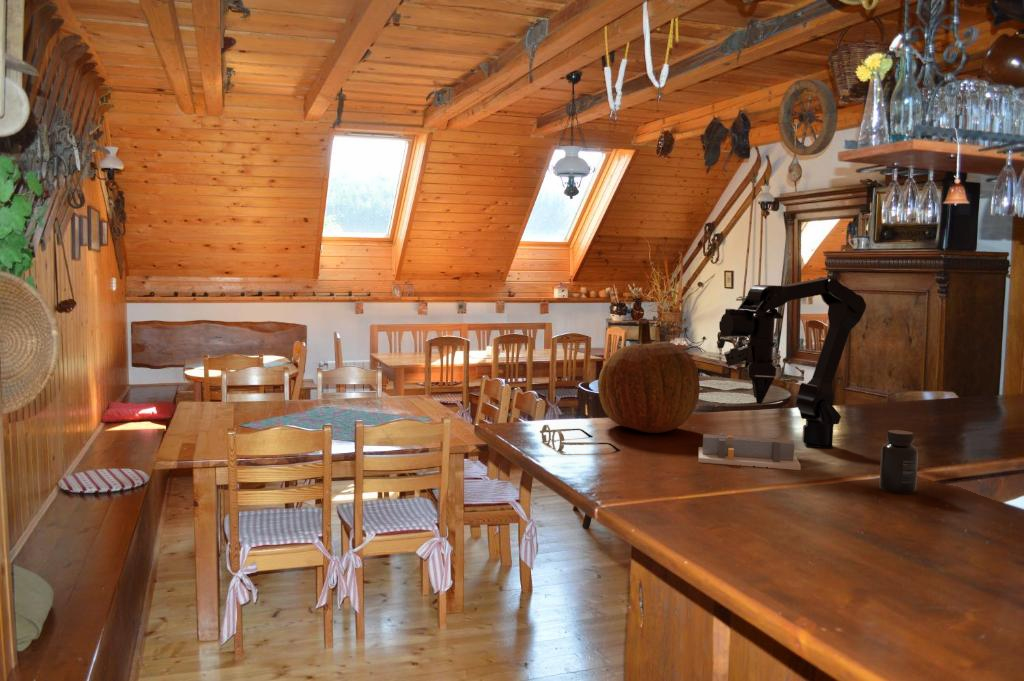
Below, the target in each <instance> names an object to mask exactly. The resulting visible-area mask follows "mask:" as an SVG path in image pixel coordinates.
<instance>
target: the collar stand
mask: <svg viewBox="0 0 1024 681" xmlns="http://www.w3.org/2000/svg"><path fill="white" fill-rule="evenodd" d="M717 435H725V433H721V432H720V433H719V432H718V433H717ZM770 439H779V437H777V436H771V437H770ZM780 449H781V444H780V443H774V444H773V460H771V459H757V458H744V457H734V448H728V456H725V439H719V447H718V455H705V454H703V446H698V463H702V464H703V463H704V464H714V465H715V464H716V465H729V466H732V465H733V466H740V465H741V466H742V467H753V466H755V468H756V467H757V468H766V467H768V468H770V469H780V470H794V471H801V468H802V466H801V463H800V462H799V459H798V458H797V456H796V453H794V457H793V461H784V460H780Z"/></svg>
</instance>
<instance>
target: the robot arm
mask: <svg viewBox="0 0 1024 681" xmlns="http://www.w3.org/2000/svg"><path fill="white" fill-rule="evenodd" d="M815 296H821V300H822V301H823V303H825V305H827V306H828V309H827V310H828V311H827V318H828V322H829V327H828V330H827V333H826V337H825V339H824V342H823V345H822V348H821V351H820V354H819V357H818V359H817V363H816V366H815V368H814V371H813V375H812V377H811V379H810V380H809V381H808V382H807V383H805V382H801V383H800V384H799V390H798V392H797V395H796V396H795V398H796V406H797V410H798V411H799V414H800V418H801V419H803V420H805V424H803V426H802V442H803V443H804V446H805V447H809V448H823V449H824V448H825V449H834V445H833V438H834V425H838V424H839V423H840V421H841V418H842V416H841V414H840V413H839V412H838V411H837V409H836V408H835V407H834V401H835V394H834V393H835V392H834V388H833V382H834V380H835V377H836V374H837V370H838V368H839V365H840V361H841V359H842V356H843V353H844V350H845V347H846V344H847V341H848V337H849V335H850V332H851V331H852V330H853V328H854V327H856V326H857V324H859V322H860V321H861V320H862V317H863V315H864V314H865V311H866V308H867V303H866V302H865V299H864V297H863V296H862V295H860V294H857V293H856V292H855V291H853V290H852V289H850V288H848V287H847V286H845V285H844V284H842V283H841V282H839V281H838V279H836V278H835V277H825V276H824V277H823V276H820V277H818V278H814V279H809V280H808V279H807V280H804V281H798V282H793V283H787V284H783V285H776V284H775V285H772V284H771V285H770V284H769V285H768V284H755V285H752V286H751V287H749V290H748V292H747V295H746V297H744V299H743V300H742V302H741V304H740V305H739V306H738V308H737V309H736V308H725V312H724V314H722V316H721V318H720V321H719V324H718V326H719V327H718V328H719V332H720V334H721V335H722V337H724V338H747V337H748V340H747V341H746V345H745V346H742V347H738V348H737V346H735V347H734V348H730V349H729V350H728V351H724V354H723V355H724V357H725V361H726V364H727V366H728V367H731V366H734V365H735V364H738V363H742V362H744V369H745V371H746V372H747V376H748V378H749V379H750V380H751V385H752V392H753V397H754V398H755V402H756V404H758V405H761V404H762V403H763V401H764V400H765V397H766V395H767V393H768V392H769V390H770V387H771V385H772V384H773V382H774V380H775V377H776V376H777V367H776V365H774V358H773V357H774V356H773V355H774V347H775V342H774V341H775V340H774V336H775V320H777V319H779V320H782V319H783V318H784V317H783V315H782V314H781V313H780V312H779V311H778V308H780V307H782V306H784V305H786V304H787V303H788V302H791V301H796V300H801V299H805V298H811V297H815ZM754 398H753V399H754Z"/></svg>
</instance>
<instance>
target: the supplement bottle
mask: <svg viewBox="0 0 1024 681" xmlns="http://www.w3.org/2000/svg"><path fill="white" fill-rule="evenodd" d="M886 435H887V437H886V441H887V443H885V444H883V445H882V446H881V449H880V450H881V451H880V467H879V468H880V469H879V483H878V484H879V485H878V486H879V488H880V489H881V490H883V491H884V492H888V493H893V494H901V495H909V494H914V493H915V492H916V491H917V480H918V479H917V478H918V465H919V464H918V462H919V460H918V459H919V451H918V448H917V446H916V447H915V445H913V443H914V442H915V441H914V435H915V434H914V432H911V431H906V430H902V429H901V430H899V429H895V430H894V429H893V430H891V429H890V430H887V434H886Z"/></svg>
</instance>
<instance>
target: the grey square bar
mask: <svg viewBox="0 0 1024 681" xmlns="http://www.w3.org/2000/svg"><path fill="white" fill-rule="evenodd" d="M719 439H725V456H728V448H734V457H744V458H757V459H771V460H773V444H774V443H780V444H781V449H780V460H784V461H793V457H794V454H795V442H794V441H793V440H792V439H780V438H778V439H771V438H767V437H766V438H763V437H755V436H754V437H752V436H739V435H738V436H736V435H732V434H731V435H729V434H728V435H725V434H724V435H718V434H711V433H710V434H708V433H703V435H702V447H703V454H705V455H718V447H719Z"/></svg>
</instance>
